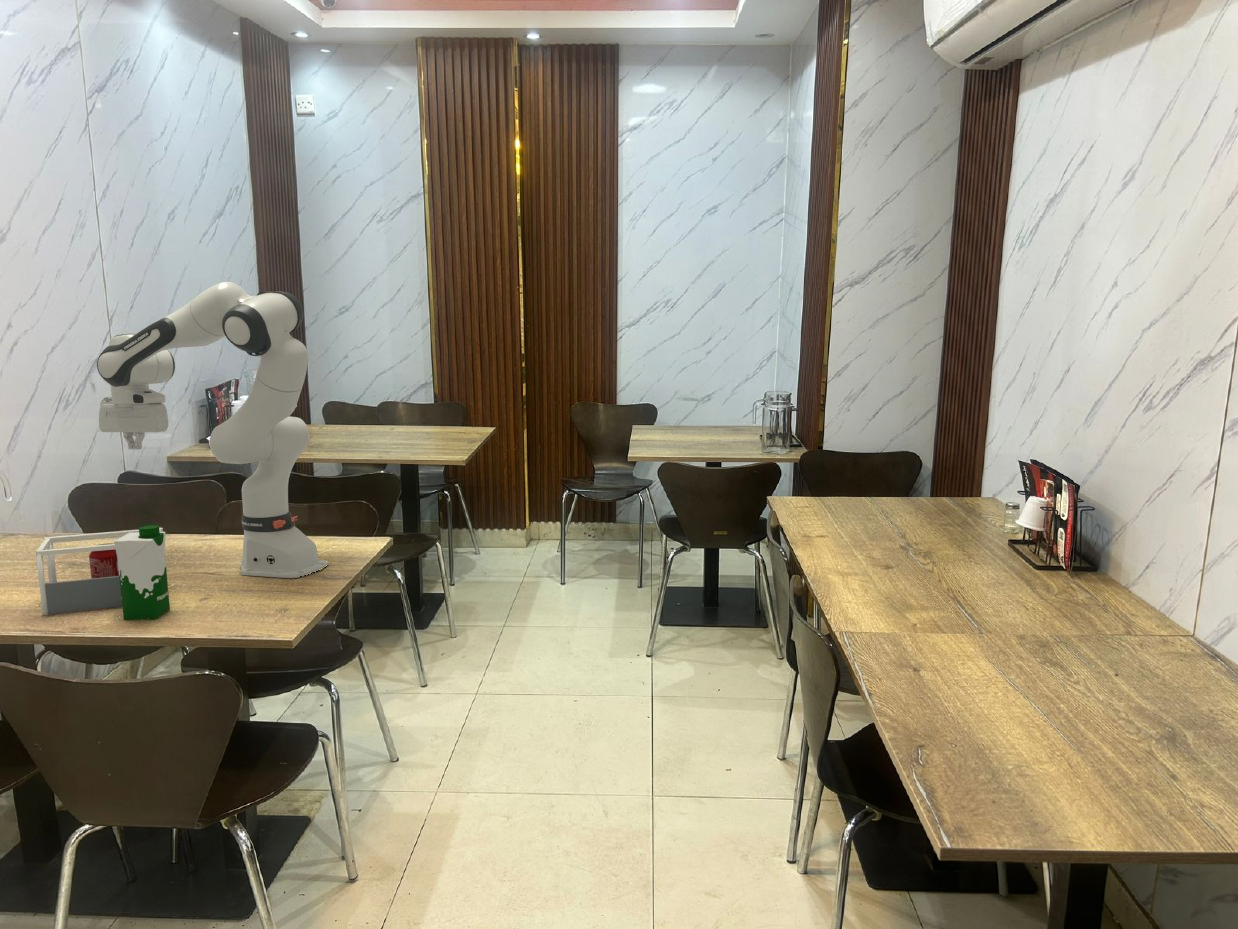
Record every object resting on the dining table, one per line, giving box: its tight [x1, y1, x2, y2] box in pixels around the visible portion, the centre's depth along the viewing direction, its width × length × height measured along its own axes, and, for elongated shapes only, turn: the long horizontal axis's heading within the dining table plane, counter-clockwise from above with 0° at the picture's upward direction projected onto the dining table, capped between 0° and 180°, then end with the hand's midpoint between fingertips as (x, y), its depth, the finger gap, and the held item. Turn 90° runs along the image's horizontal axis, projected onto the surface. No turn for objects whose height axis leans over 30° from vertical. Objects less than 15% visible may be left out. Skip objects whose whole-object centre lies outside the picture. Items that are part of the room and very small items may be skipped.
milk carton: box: [113, 524, 171, 621], centre depth 205 cm, size 9×9×20 cm
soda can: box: [88, 542, 119, 579], centre depth 218 cm, size 7×7×12 cm
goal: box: [35, 527, 164, 616], centre depth 215 cm, size 13×25×15 cm, turn 113°
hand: (135, 449), depth 245 cm, fingers closed
